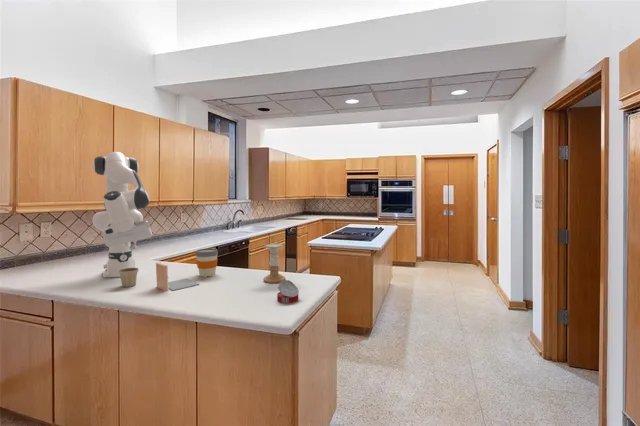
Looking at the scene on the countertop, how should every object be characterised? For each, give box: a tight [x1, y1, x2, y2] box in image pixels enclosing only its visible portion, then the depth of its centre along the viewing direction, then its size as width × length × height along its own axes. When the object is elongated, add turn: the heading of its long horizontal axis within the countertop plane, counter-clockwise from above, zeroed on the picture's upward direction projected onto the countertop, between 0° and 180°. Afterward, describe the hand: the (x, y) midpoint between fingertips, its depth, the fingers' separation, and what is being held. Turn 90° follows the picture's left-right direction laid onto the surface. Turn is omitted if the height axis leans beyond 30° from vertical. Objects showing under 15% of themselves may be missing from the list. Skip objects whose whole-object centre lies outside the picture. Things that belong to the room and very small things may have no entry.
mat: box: [168, 278, 200, 292], centre depth 171 cm, size 16×14×1 cm
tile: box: [155, 261, 169, 292], centre depth 164 cm, size 10×2×13 cm, turn 47°
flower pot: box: [118, 267, 140, 288], centre depth 170 cm, size 9×9×9 cm
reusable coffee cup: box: [195, 248, 219, 278], centre depth 191 cm, size 13×13×15 cm
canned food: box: [276, 279, 300, 304], centre depth 147 cm, size 11×10×10 cm
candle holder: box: [262, 243, 286, 284], centre depth 179 cm, size 12×12×20 cm
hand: (133, 248), depth 157 cm, fingers closed
